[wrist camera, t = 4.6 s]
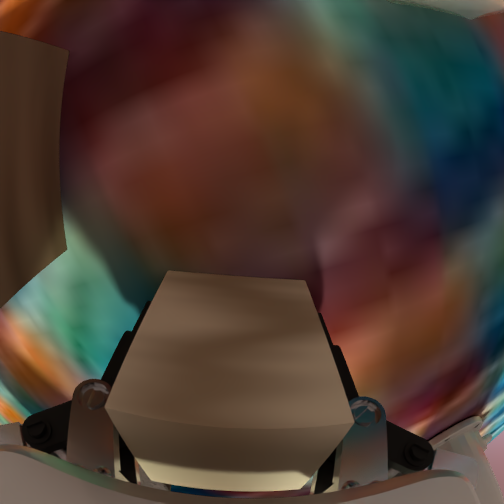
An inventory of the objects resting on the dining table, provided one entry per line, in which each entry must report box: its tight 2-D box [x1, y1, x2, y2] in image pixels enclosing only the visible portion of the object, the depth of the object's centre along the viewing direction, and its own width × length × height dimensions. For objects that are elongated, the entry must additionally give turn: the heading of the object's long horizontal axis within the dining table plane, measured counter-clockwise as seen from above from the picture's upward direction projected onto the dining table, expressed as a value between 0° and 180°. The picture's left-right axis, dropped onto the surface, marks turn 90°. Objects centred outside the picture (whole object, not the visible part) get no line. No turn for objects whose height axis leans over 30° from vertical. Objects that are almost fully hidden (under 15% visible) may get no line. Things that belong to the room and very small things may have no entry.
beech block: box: [105, 270, 355, 491], centre depth 8 cm, size 5×5×6 cm
